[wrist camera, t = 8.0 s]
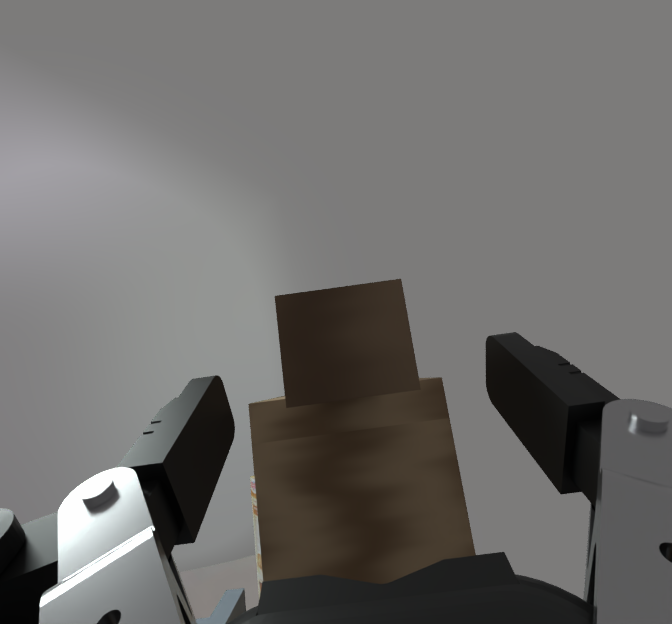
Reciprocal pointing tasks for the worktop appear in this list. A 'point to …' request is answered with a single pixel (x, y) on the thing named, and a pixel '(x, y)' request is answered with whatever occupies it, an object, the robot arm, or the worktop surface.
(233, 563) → the worktop surface
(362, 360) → the rail
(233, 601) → the tall grey pillar
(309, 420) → the slotted wooden post
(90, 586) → the robot arm
